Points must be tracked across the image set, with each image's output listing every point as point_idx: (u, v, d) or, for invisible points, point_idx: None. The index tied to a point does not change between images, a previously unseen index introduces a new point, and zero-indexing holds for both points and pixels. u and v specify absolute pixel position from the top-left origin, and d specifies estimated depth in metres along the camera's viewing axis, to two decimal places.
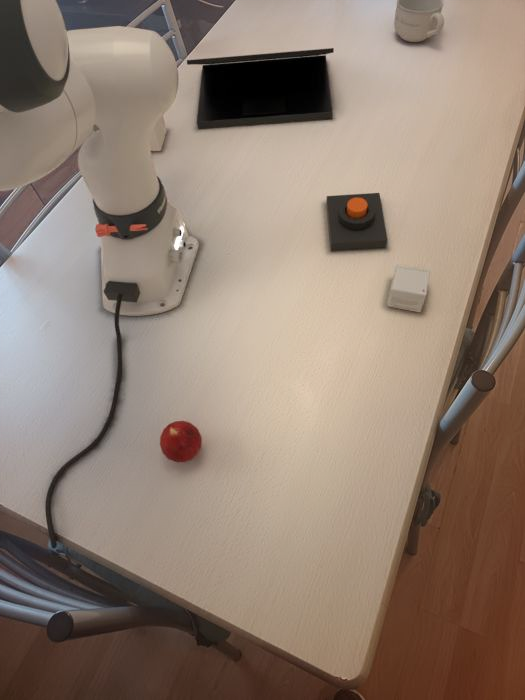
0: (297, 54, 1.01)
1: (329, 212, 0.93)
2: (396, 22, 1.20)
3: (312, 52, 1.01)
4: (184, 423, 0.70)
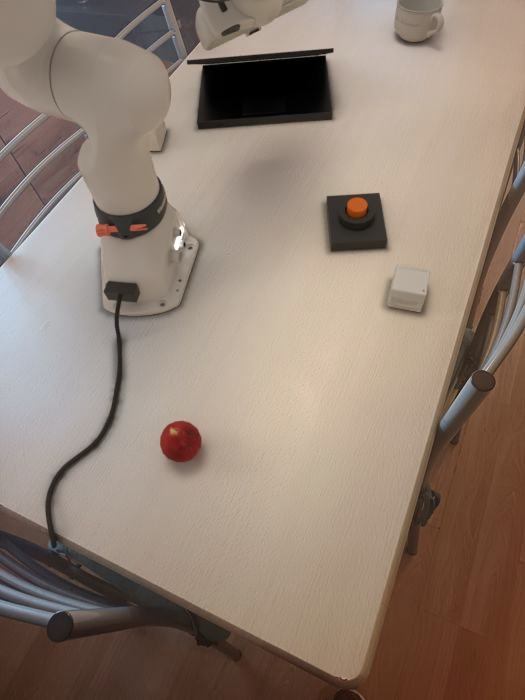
0: (297, 54, 1.01)
1: (329, 212, 0.93)
2: (396, 22, 1.20)
3: (312, 52, 1.01)
4: (184, 423, 0.70)
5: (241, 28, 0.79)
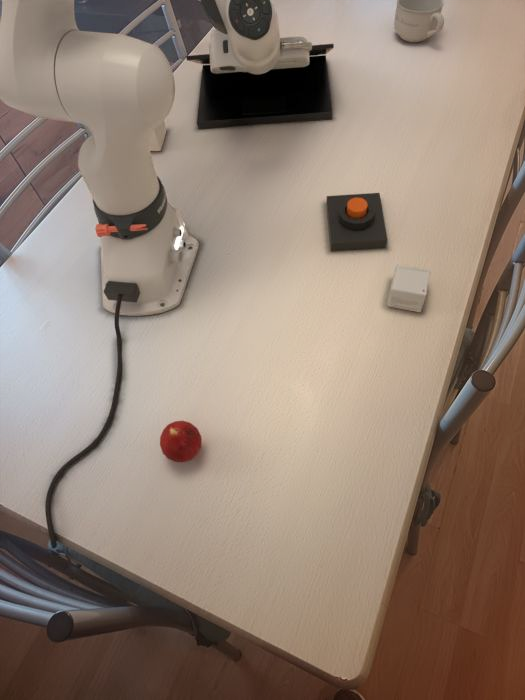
0: None
1: (329, 212, 0.93)
2: (396, 22, 1.20)
3: (312, 48, 1.00)
4: (184, 423, 0.70)
5: (237, 69, 0.96)
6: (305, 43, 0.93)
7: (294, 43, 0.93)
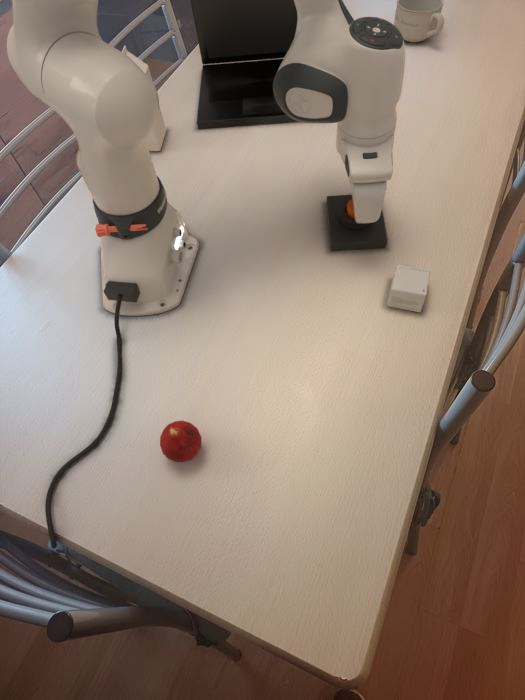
0: None
1: (329, 212, 0.93)
2: (396, 22, 1.20)
3: None
4: (184, 423, 0.70)
5: None
6: None
7: None
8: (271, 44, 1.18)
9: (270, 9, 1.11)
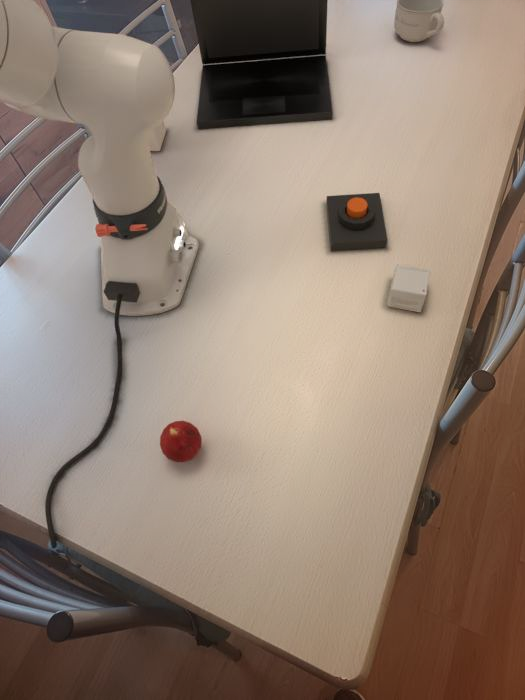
0: None
1: (329, 212, 0.93)
2: (396, 22, 1.20)
3: None
4: (184, 423, 0.70)
5: None
6: None
7: None
8: (271, 44, 1.18)
9: (270, 9, 1.11)
